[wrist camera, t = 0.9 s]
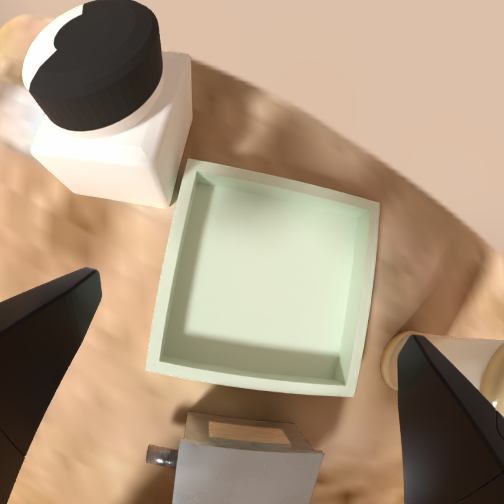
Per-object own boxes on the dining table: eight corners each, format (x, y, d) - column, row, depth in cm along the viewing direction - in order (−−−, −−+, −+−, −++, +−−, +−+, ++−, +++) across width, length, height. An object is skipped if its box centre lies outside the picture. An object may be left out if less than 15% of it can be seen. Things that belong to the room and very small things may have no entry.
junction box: (281, 484, 19) (301, 525, 13) (150, 469, 18) (138, 511, 12) (296, 420, 20) (324, 453, 14) (157, 402, 19) (143, 433, 13)
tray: (338, 387, 20) (353, 397, 18) (152, 362, 19) (145, 370, 16) (363, 212, 22) (380, 202, 20) (189, 173, 21) (187, 158, 19)
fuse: (422, 390, 21) (528, 422, 10) (374, 390, 21) (482, 436, 10) (432, 333, 22) (545, 340, 11) (386, 328, 21) (504, 338, 11)
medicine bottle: (193, 117, 22) (193, -17, 10) (169, 210, 20) (133, 107, 9) (103, 107, 21) (55, -12, 9) (73, 194, 20) (-23, 104, 8)
